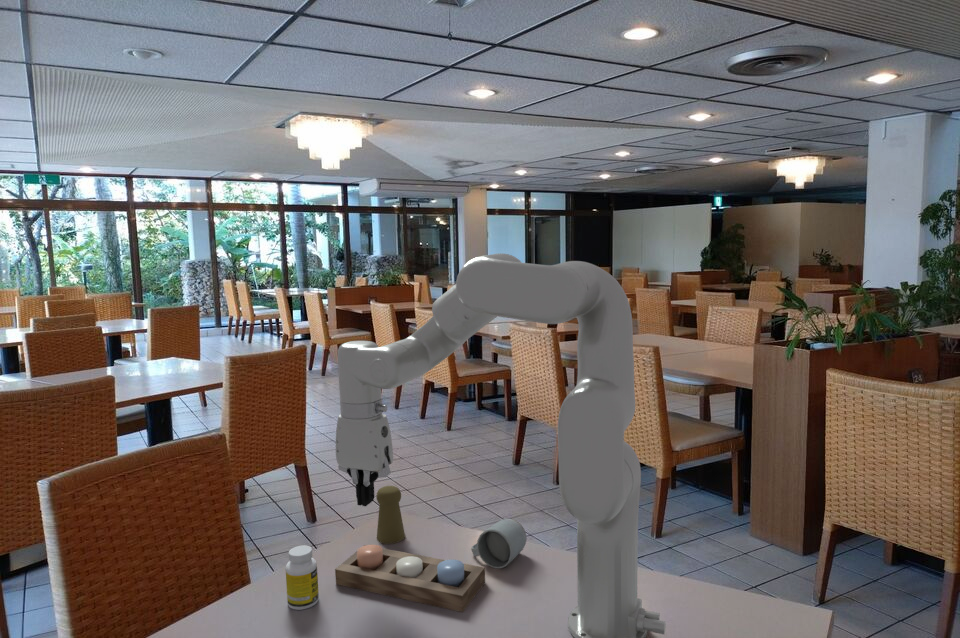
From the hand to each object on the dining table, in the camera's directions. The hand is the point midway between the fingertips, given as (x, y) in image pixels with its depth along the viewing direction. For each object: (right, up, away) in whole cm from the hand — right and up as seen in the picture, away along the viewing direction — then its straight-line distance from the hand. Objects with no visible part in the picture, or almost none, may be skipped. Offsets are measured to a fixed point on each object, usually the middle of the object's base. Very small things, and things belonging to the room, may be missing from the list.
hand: (365, 502), depth 124 cm
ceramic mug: (+25, -13, +7) cm, 29 cm away
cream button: (+9, -14, -2) cm, 16 cm away
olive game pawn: (+2, -12, +17) cm, 21 cm away
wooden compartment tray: (+9, -15, -1) cm, 17 cm away
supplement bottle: (-10, -16, -6) cm, 20 cm away
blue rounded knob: (+16, -13, -5) cm, 21 cm away
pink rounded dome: (+1, -12, +2) cm, 13 cm away
